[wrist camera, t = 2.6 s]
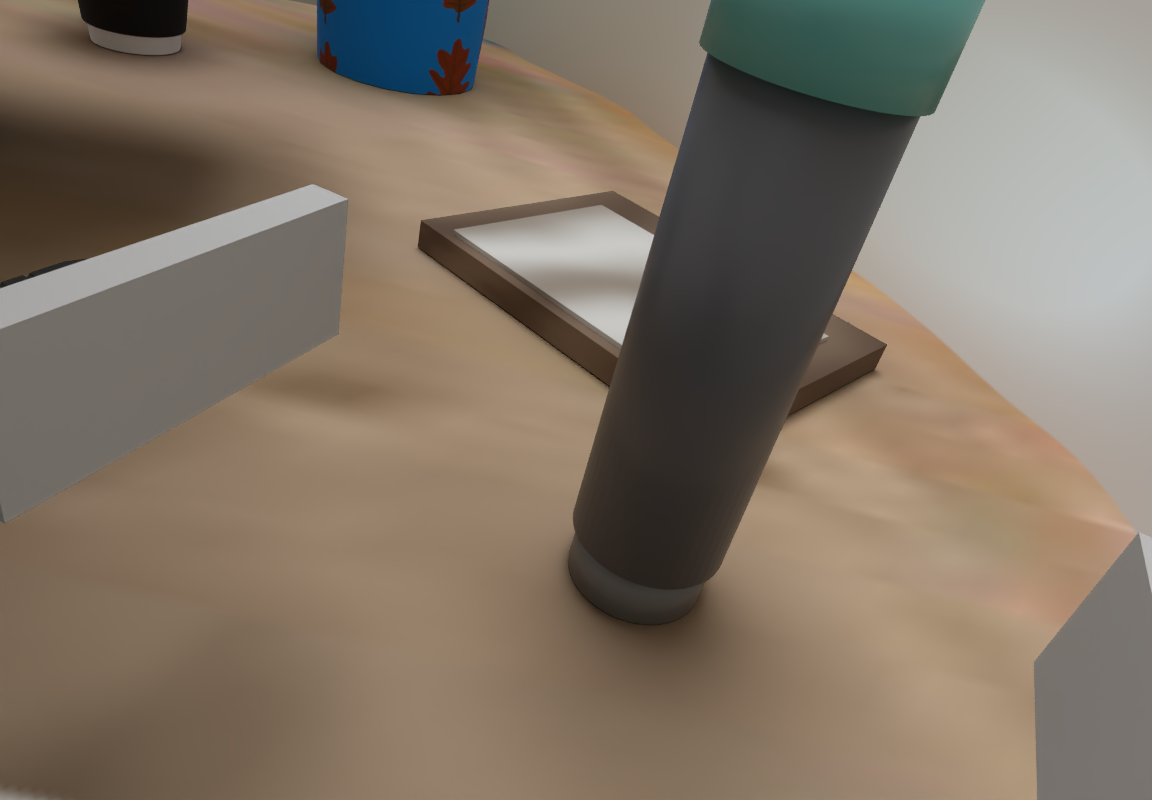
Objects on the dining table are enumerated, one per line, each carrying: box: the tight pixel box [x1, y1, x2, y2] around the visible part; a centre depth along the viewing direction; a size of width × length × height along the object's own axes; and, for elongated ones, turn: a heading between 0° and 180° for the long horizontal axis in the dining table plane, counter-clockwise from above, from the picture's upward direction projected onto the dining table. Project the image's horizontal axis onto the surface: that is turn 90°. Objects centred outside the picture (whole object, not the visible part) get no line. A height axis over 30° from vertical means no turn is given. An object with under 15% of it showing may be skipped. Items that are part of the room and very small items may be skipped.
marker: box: [568, 0, 985, 625], centre depth 18 cm, size 4×4×15 cm
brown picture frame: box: [418, 191, 887, 416], centre depth 35 cm, size 16×12×2 cm
